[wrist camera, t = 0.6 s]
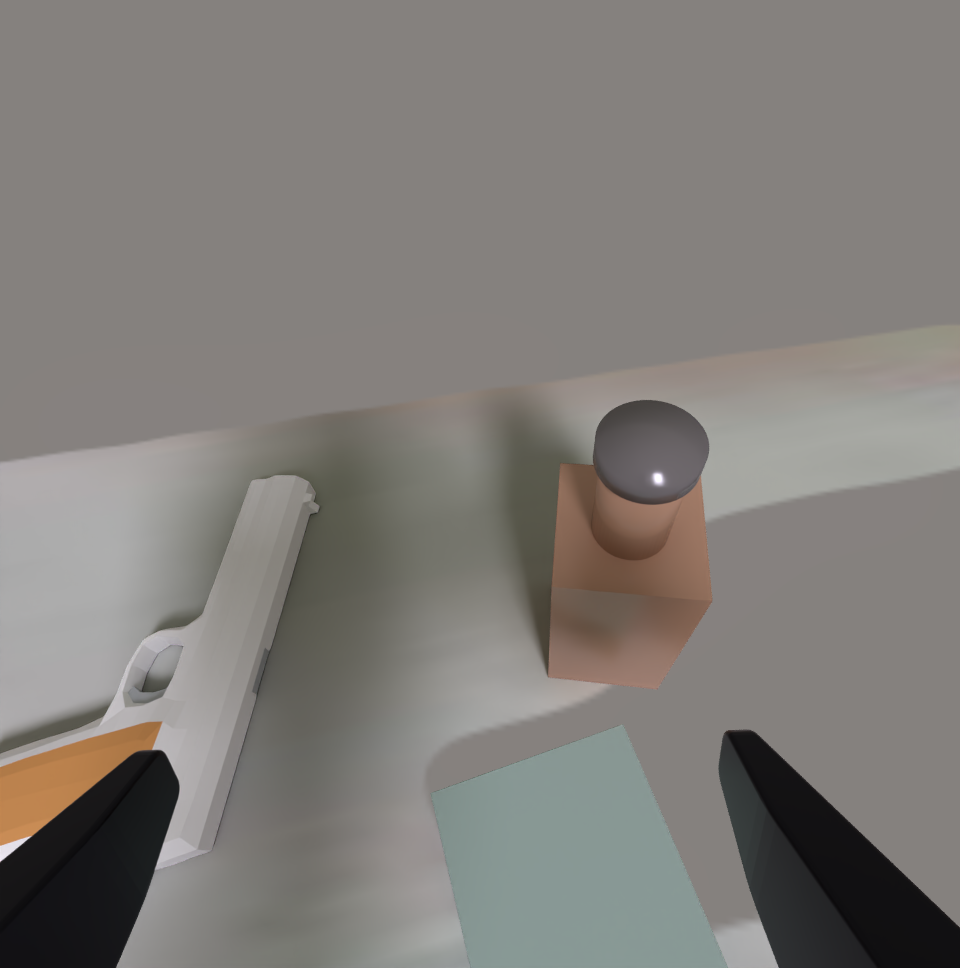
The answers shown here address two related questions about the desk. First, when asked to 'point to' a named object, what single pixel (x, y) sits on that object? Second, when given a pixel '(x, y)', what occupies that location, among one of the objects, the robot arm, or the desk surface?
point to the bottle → (630, 549)
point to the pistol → (179, 690)
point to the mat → (570, 865)
